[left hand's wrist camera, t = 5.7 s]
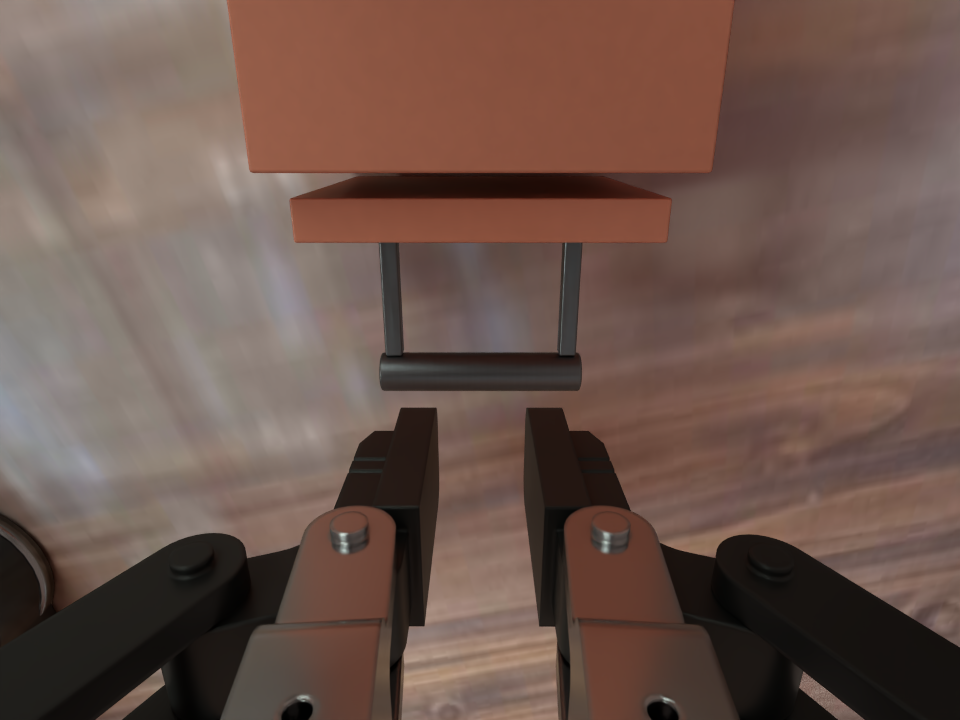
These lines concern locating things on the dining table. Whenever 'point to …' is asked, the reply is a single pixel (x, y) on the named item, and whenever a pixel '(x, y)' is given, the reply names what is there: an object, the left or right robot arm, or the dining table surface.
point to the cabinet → (480, 85)
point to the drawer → (480, 219)
